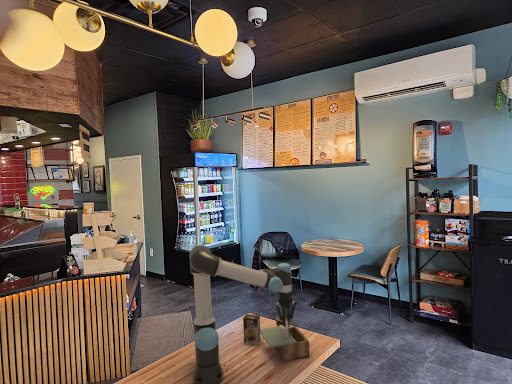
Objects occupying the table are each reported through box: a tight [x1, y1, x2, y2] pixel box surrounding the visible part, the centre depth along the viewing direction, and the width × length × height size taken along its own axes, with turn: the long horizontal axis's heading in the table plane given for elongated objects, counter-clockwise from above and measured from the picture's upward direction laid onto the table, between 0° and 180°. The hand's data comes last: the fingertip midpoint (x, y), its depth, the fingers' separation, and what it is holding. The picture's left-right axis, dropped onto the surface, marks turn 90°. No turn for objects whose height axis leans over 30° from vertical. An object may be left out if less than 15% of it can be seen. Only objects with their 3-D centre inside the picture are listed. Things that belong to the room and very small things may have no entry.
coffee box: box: [242, 314, 261, 346], centre depth 200 cm, size 9×6×16 cm
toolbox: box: [274, 325, 310, 363], centre depth 189 cm, size 15×20×9 cm
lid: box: [260, 325, 296, 349], centre depth 187 cm, size 15×20×4 cm
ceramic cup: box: [275, 314, 292, 327], centre depth 212 cm, size 13×10×10 cm
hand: (286, 331), depth 188 cm, fingers closed
